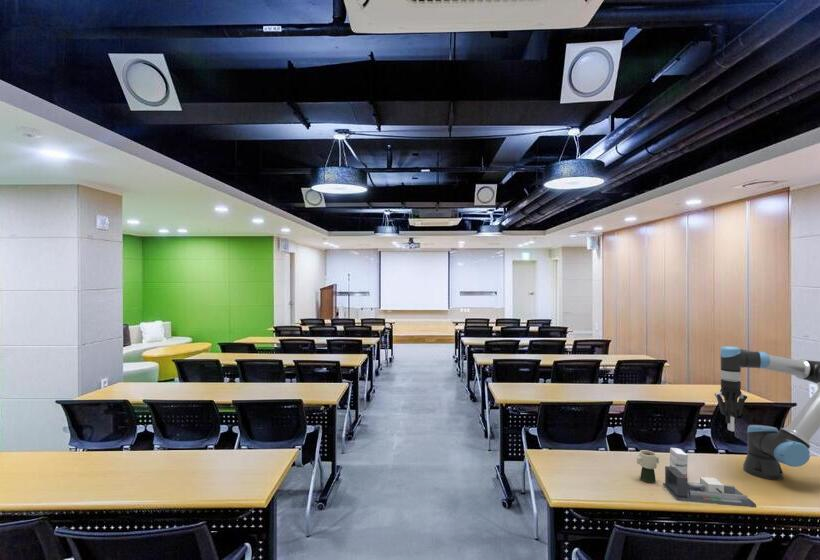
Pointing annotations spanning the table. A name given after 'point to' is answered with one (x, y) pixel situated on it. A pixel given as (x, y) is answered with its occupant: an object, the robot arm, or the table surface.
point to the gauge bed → (682, 492)
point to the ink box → (679, 460)
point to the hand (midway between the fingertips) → (730, 430)
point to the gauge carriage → (709, 485)
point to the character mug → (648, 465)
